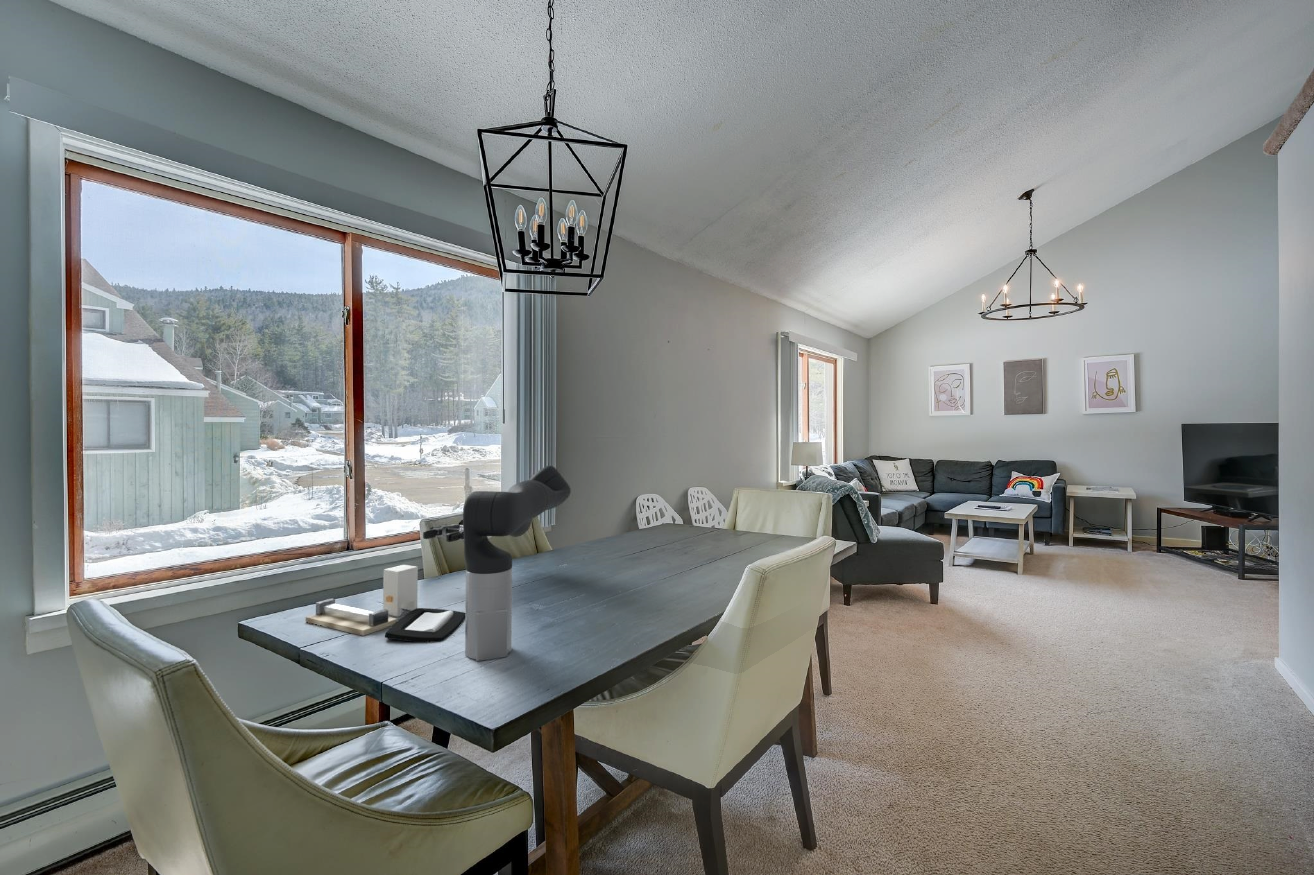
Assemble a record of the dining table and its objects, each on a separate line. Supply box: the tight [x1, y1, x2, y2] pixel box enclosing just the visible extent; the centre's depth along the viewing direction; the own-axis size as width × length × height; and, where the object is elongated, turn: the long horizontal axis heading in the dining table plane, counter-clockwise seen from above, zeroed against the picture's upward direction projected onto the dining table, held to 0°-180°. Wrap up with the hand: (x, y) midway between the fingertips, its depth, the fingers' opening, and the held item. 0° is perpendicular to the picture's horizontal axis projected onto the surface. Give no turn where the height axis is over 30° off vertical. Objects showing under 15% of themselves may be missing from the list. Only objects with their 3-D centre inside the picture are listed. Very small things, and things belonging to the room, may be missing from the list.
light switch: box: [384, 607, 465, 643], centre depth 134 cm, size 20×3×14 cm
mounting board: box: [305, 613, 398, 637], centre depth 136 cm, size 20×9×1 cm, turn 65°
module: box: [382, 564, 419, 617], centre depth 145 cm, size 5×7×11 cm
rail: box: [315, 598, 389, 627], centre depth 136 cm, size 20×4×3 cm, turn 65°
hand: (435, 536), depth 155 cm, fingers open, 8 cm apart
